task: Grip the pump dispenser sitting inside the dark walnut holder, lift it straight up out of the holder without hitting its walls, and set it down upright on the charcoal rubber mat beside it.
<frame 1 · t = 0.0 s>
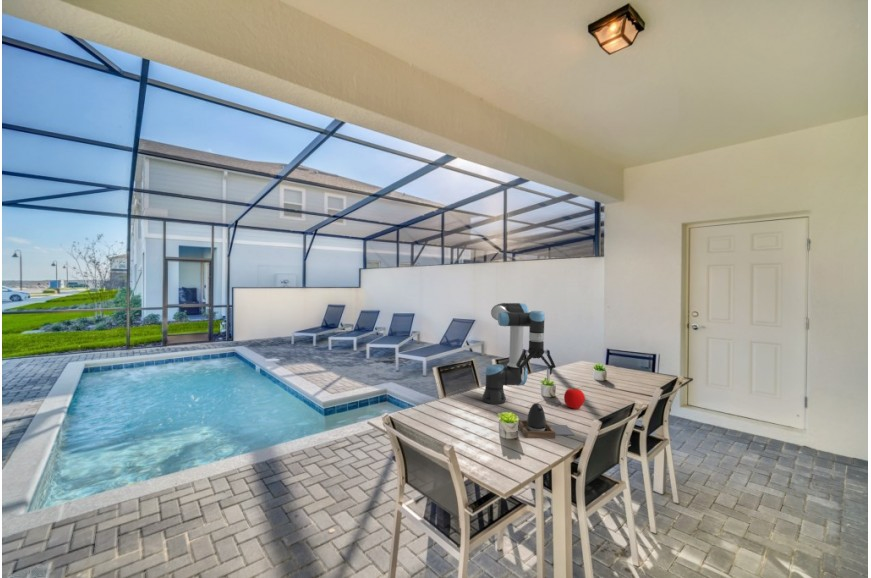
hand: (535, 380, 199), 28 cm above the table, tool pointing down, fingers open, 13 cm apart
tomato: (574, 407, 238), on the table
walnut holder: (536, 431, 201), on the table
rubber mat: (560, 430, 203), on the table
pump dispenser: (536, 432, 201), resting in walnut holder
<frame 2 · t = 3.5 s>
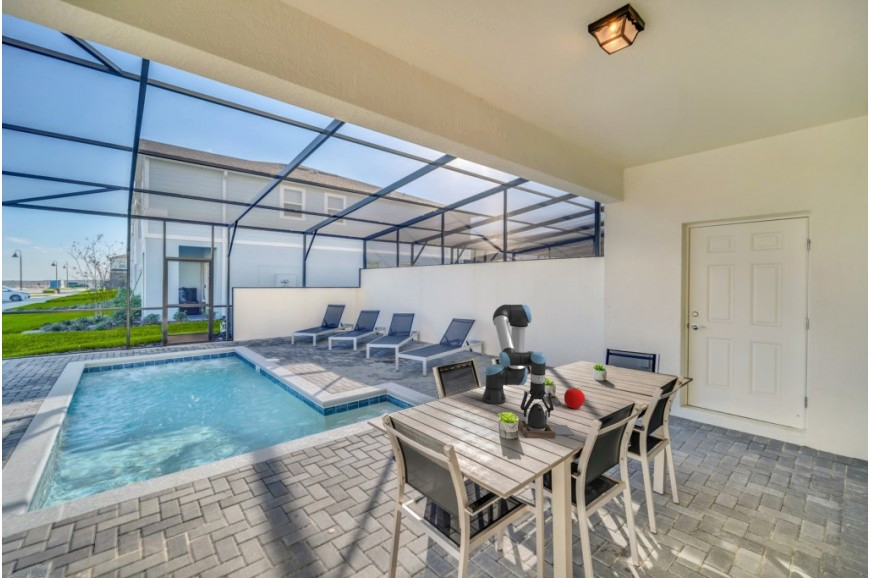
hand: (536, 422, 201), 5 cm above the table, tool pointing down, fingers closed on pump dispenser, 10 cm apart
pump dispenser: (536, 432, 201), resting in walnut holder, touching gripper
everything else where it was.
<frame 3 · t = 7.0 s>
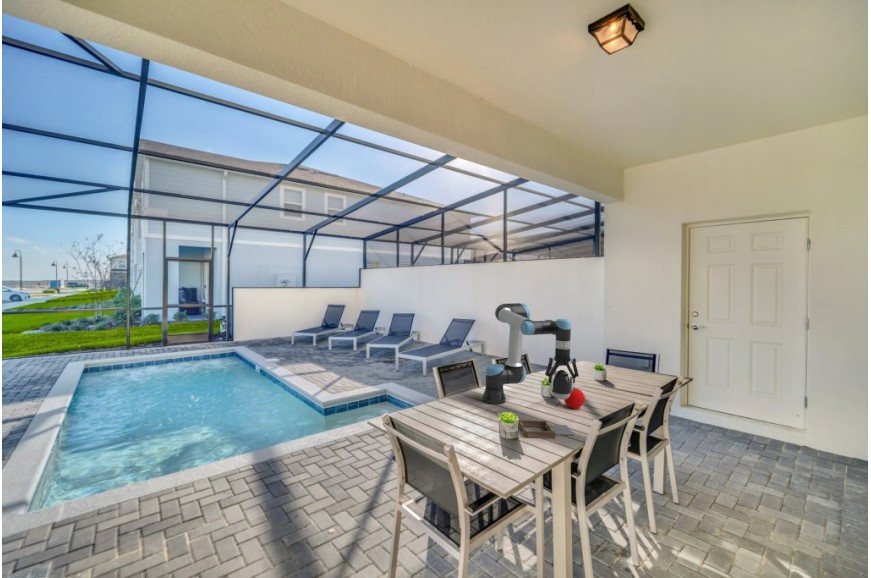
hand: (561, 389, 202), 23 cm above the table, tool pointing down, fingers closed on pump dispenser, 10 cm apart
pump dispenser: (561, 398, 202), point 18 cm above the table, touching gripper
everything else where it was.
when the fingers open (7 cm above the table, at t = 10.9 s): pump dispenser drops 1 cm, resting on rubber mat.
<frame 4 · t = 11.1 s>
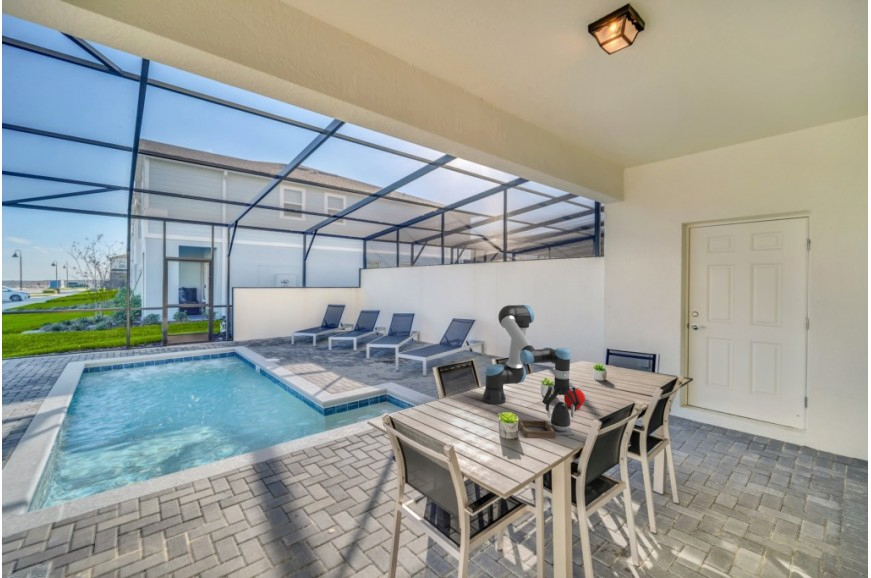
hand: (560, 416, 203), 7 cm above the table, tool pointing down, fingers open, 12 cm apart
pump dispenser: (560, 429, 203), resting on rubber mat
everything else where it was.
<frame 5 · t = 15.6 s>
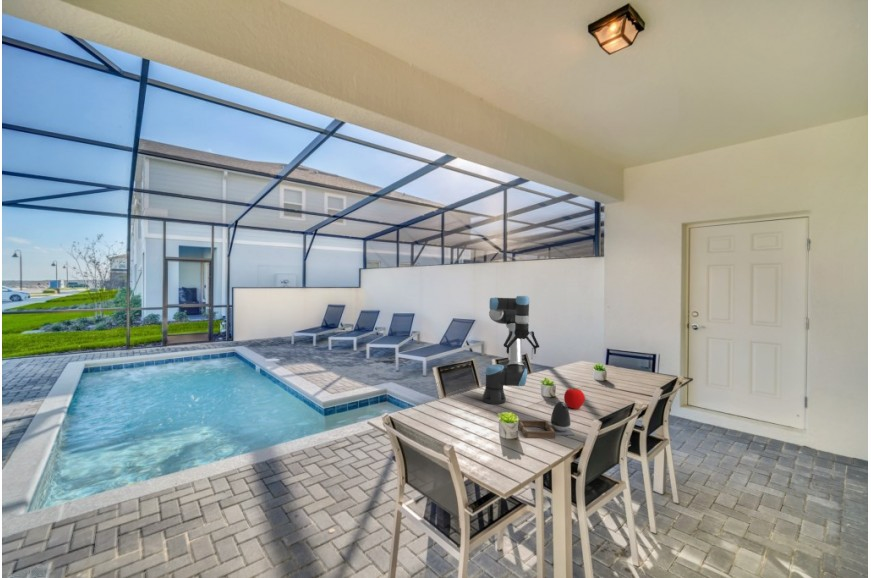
hand: (520, 359, 218), 35 cm above the table, tool pointing down, fingers open, 13 cm apart
nothing on the table moved.
at the end: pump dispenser inside the target area on the rubber mat (0.1 cm from its centre), point 0.3 cm above the rubber mat's base; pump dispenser tilted 0°; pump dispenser touching rubber mat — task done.
